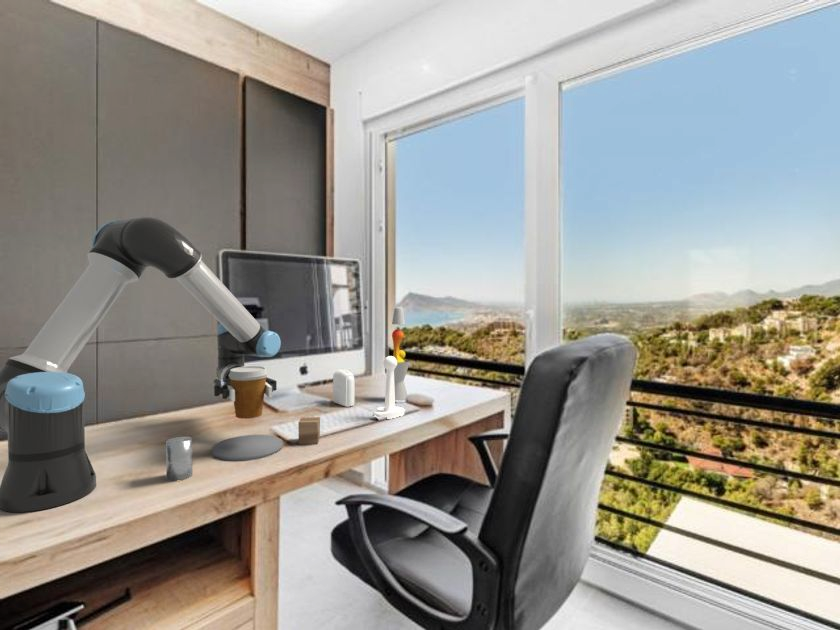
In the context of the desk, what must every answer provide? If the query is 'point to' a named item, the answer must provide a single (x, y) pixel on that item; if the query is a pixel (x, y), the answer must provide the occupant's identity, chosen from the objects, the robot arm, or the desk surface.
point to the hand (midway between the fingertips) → (252, 394)
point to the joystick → (389, 392)
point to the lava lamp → (399, 356)
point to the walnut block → (309, 430)
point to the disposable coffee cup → (248, 390)
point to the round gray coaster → (247, 447)
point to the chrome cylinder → (179, 458)
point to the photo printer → (344, 388)
